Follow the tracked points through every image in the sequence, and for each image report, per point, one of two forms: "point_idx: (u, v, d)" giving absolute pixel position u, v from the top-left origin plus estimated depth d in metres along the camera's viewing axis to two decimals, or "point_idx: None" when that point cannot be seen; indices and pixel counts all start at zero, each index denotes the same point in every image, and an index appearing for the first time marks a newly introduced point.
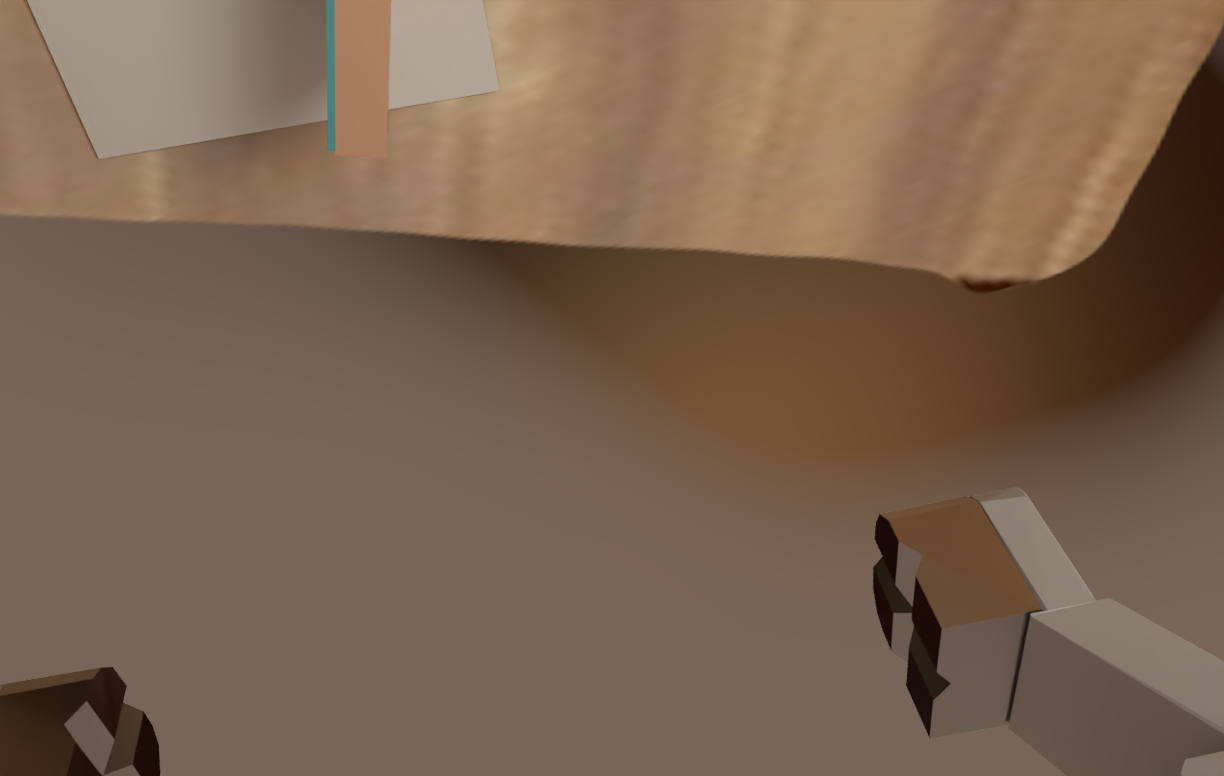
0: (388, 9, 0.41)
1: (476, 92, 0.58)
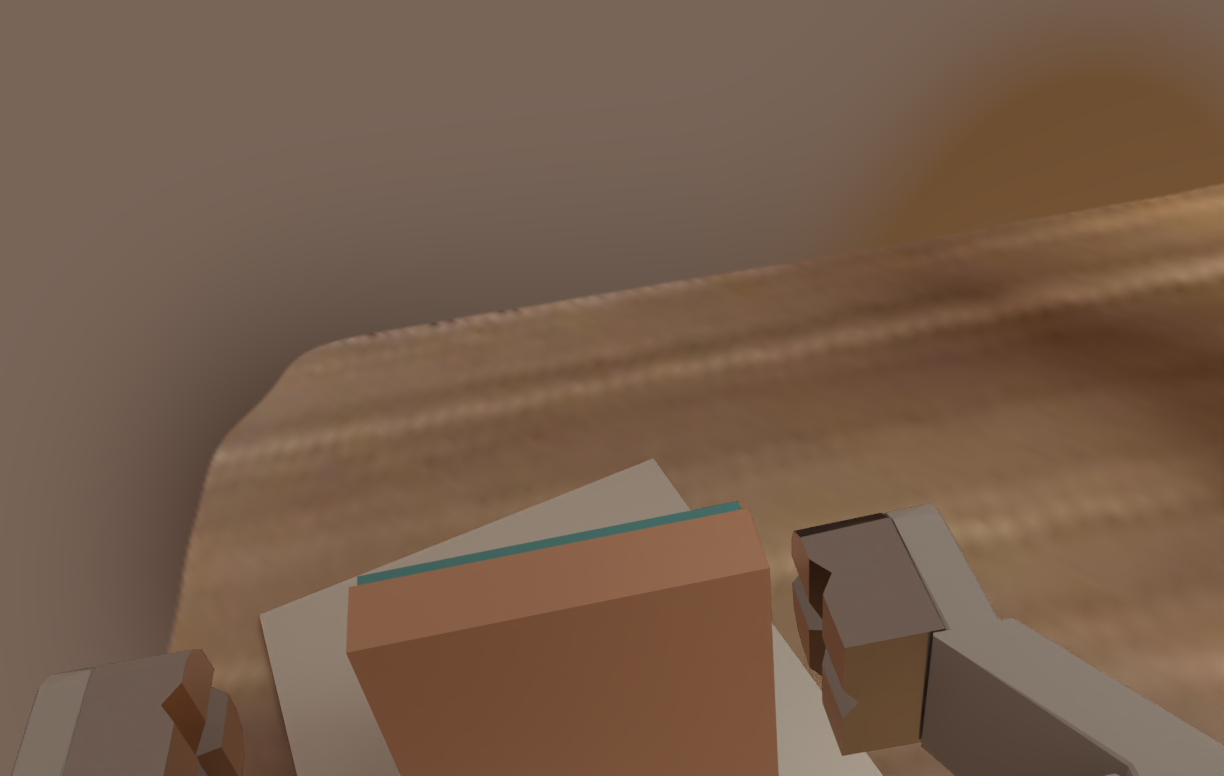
0: (602, 599, 0.26)
1: None
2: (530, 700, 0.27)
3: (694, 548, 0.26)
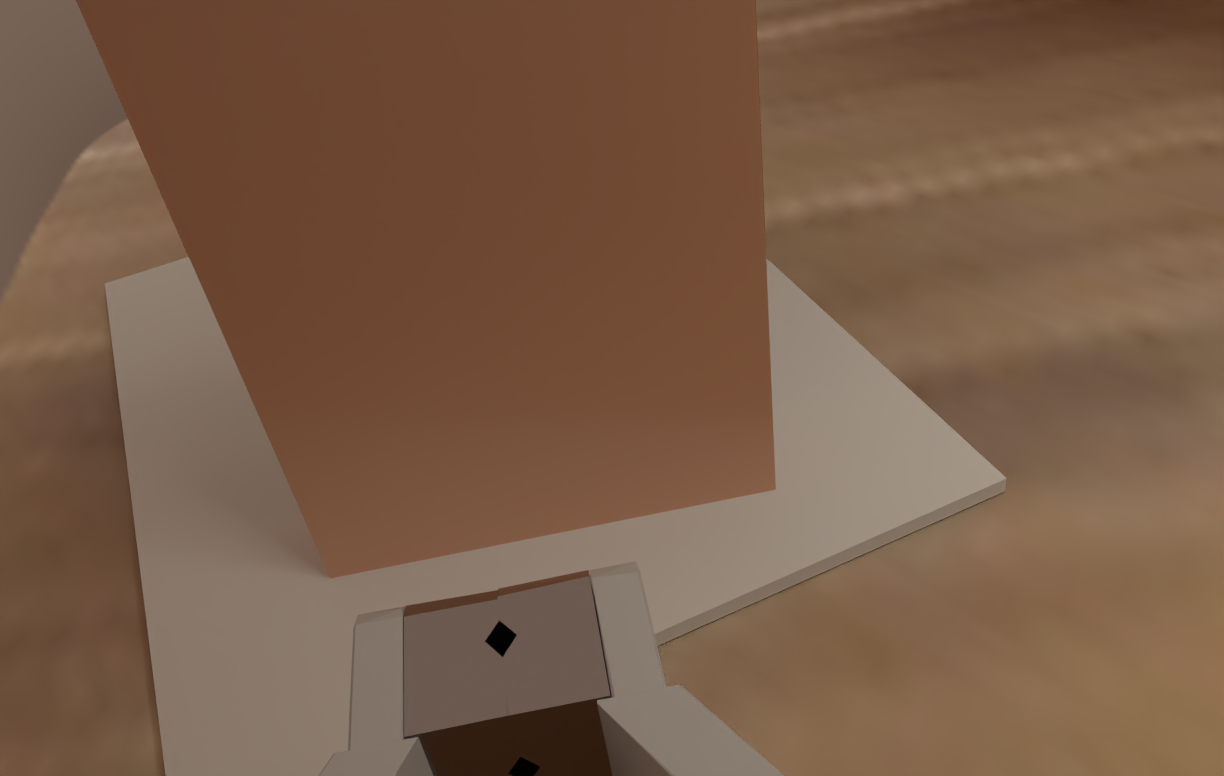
0: None
1: None
2: (371, 81, 0.17)
3: None
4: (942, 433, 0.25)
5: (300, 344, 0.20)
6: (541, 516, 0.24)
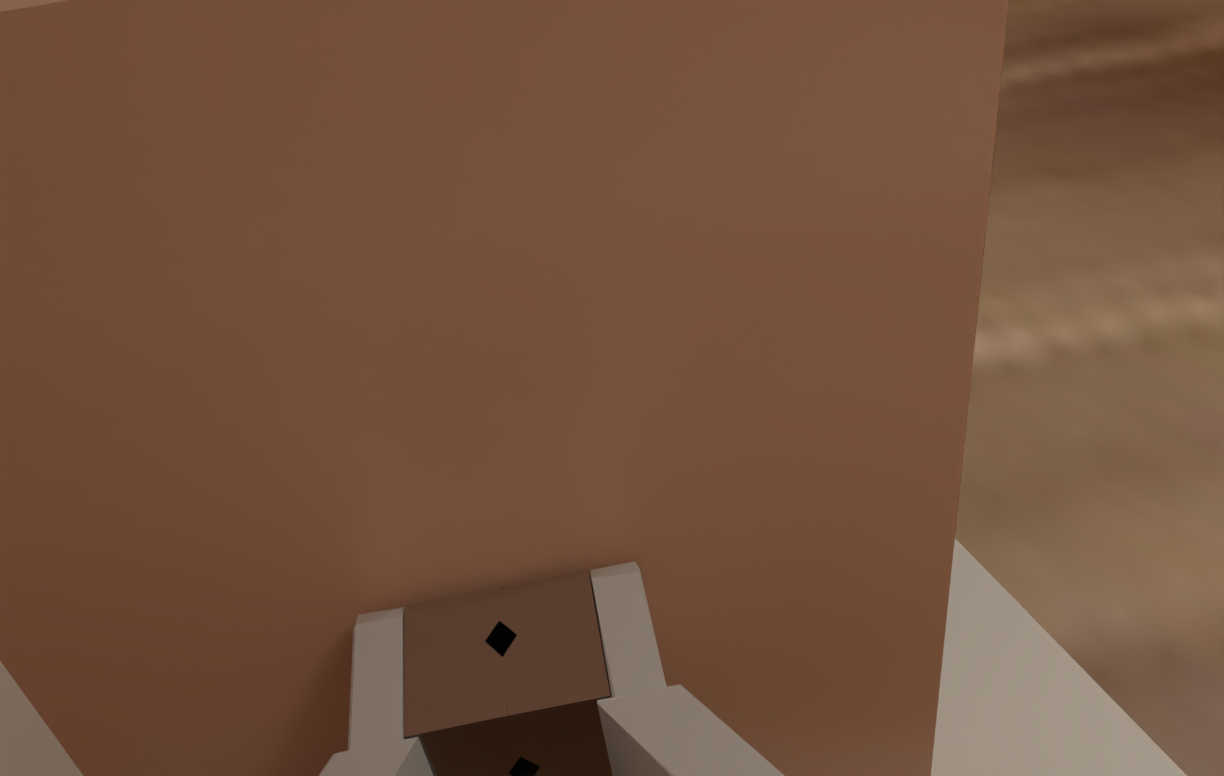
0: None
1: None
2: (287, 356, 0.09)
3: None
4: (1160, 769, 0.17)
5: (182, 735, 0.12)
6: None
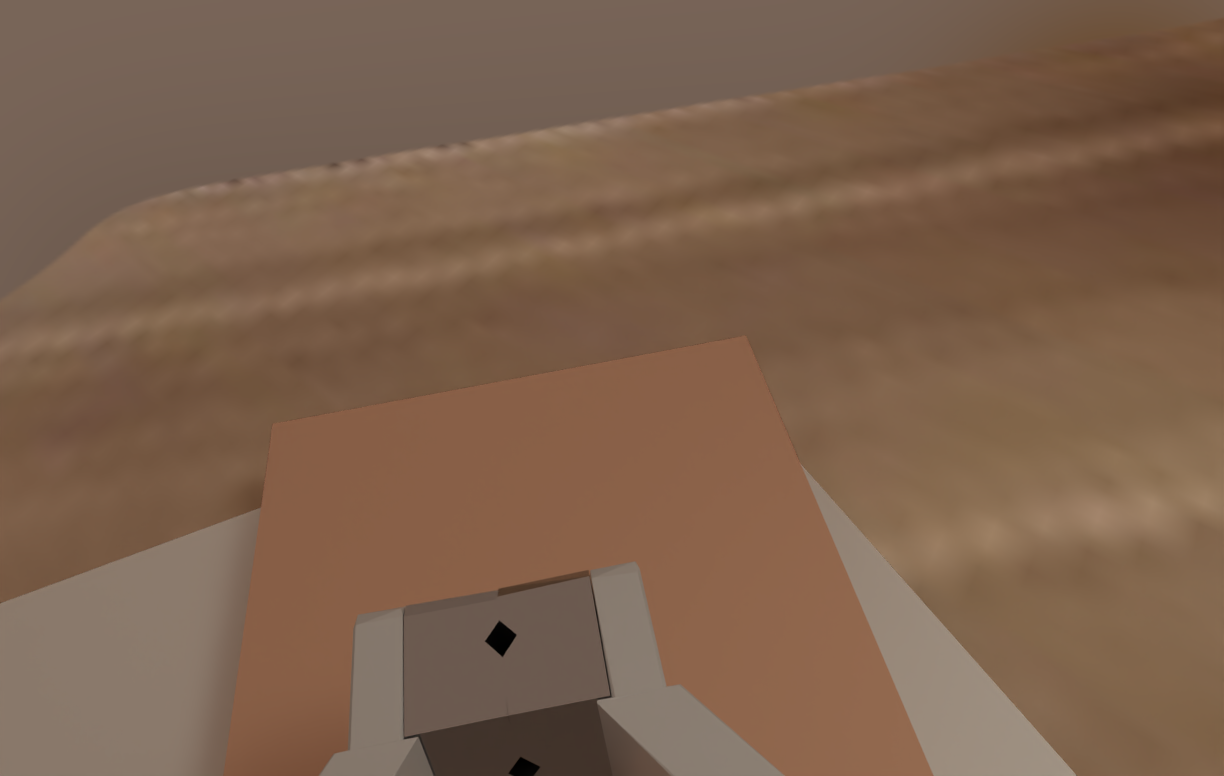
0: (560, 372, 0.23)
1: None
2: (461, 493, 0.20)
3: None
4: None
5: (308, 736, 0.17)
6: None
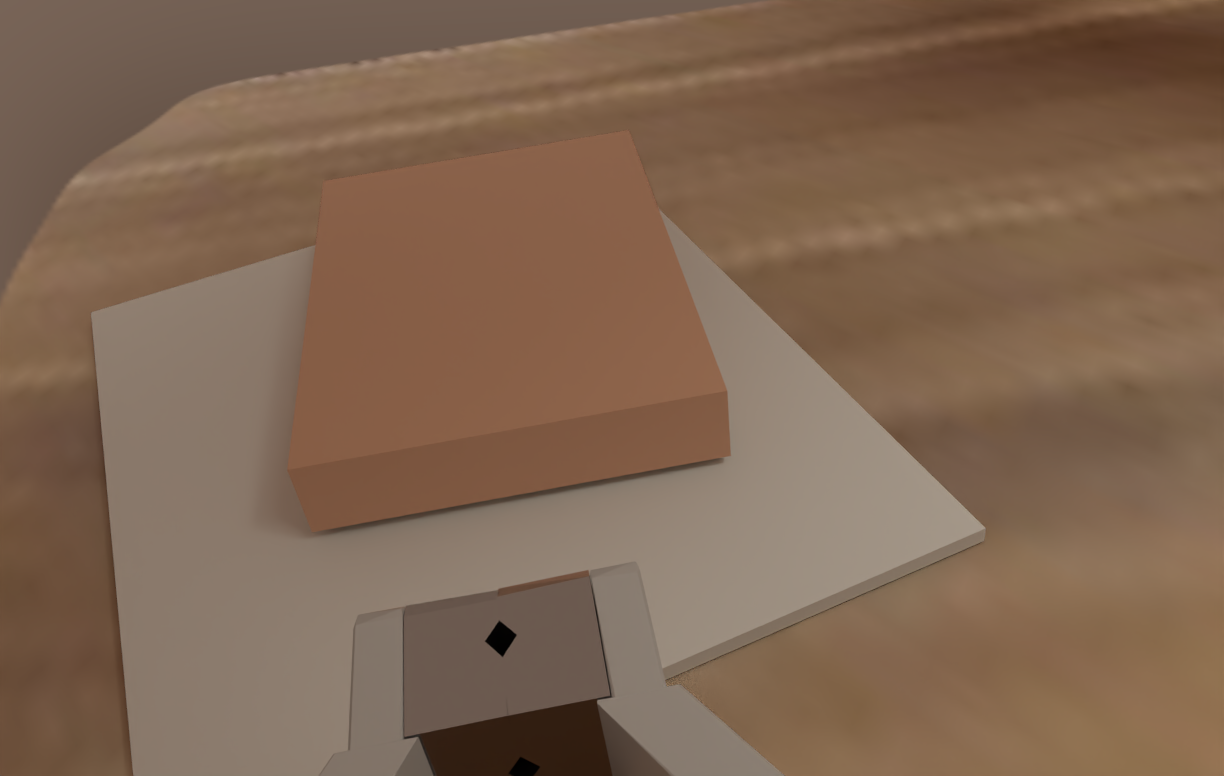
0: None
1: None
2: (443, 207, 0.33)
3: None
4: (923, 480, 0.25)
5: (353, 307, 0.29)
6: (499, 414, 0.25)
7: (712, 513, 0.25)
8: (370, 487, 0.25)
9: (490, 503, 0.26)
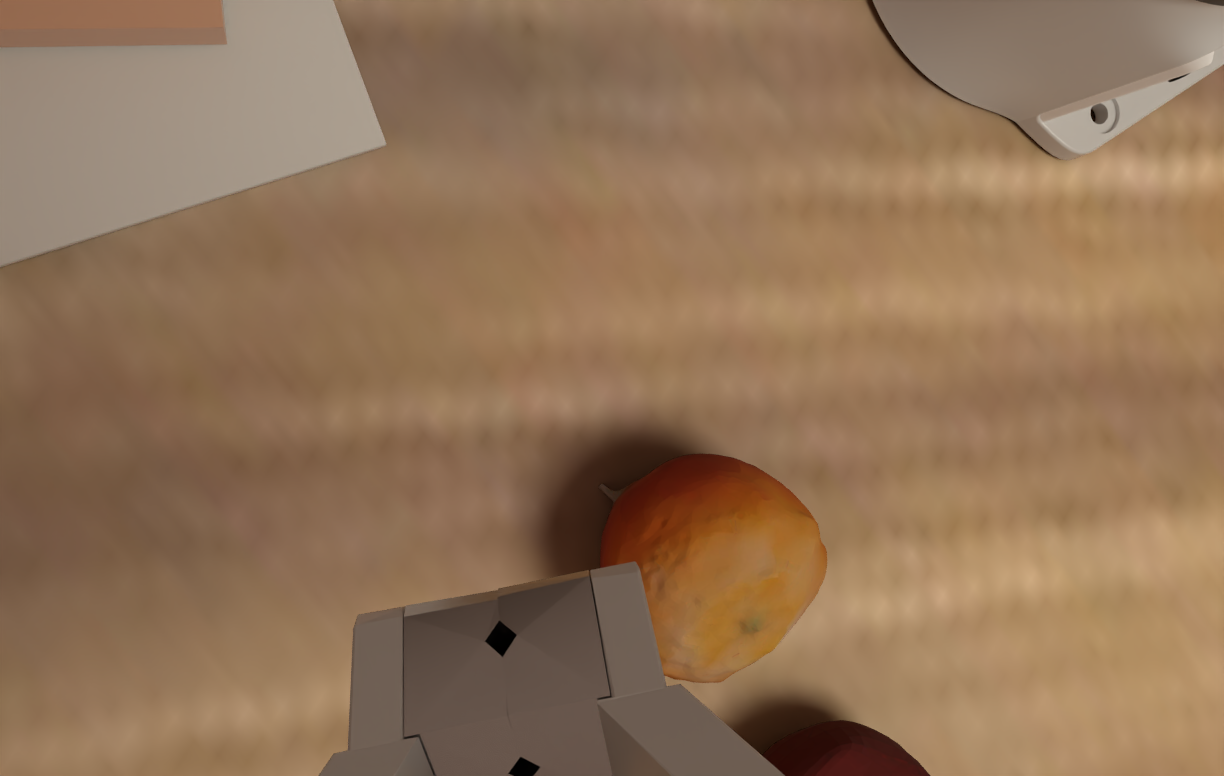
0: None
1: None
2: None
3: None
4: (359, 93, 0.38)
5: None
6: (37, 8, 0.33)
7: (207, 91, 0.36)
8: None
9: None
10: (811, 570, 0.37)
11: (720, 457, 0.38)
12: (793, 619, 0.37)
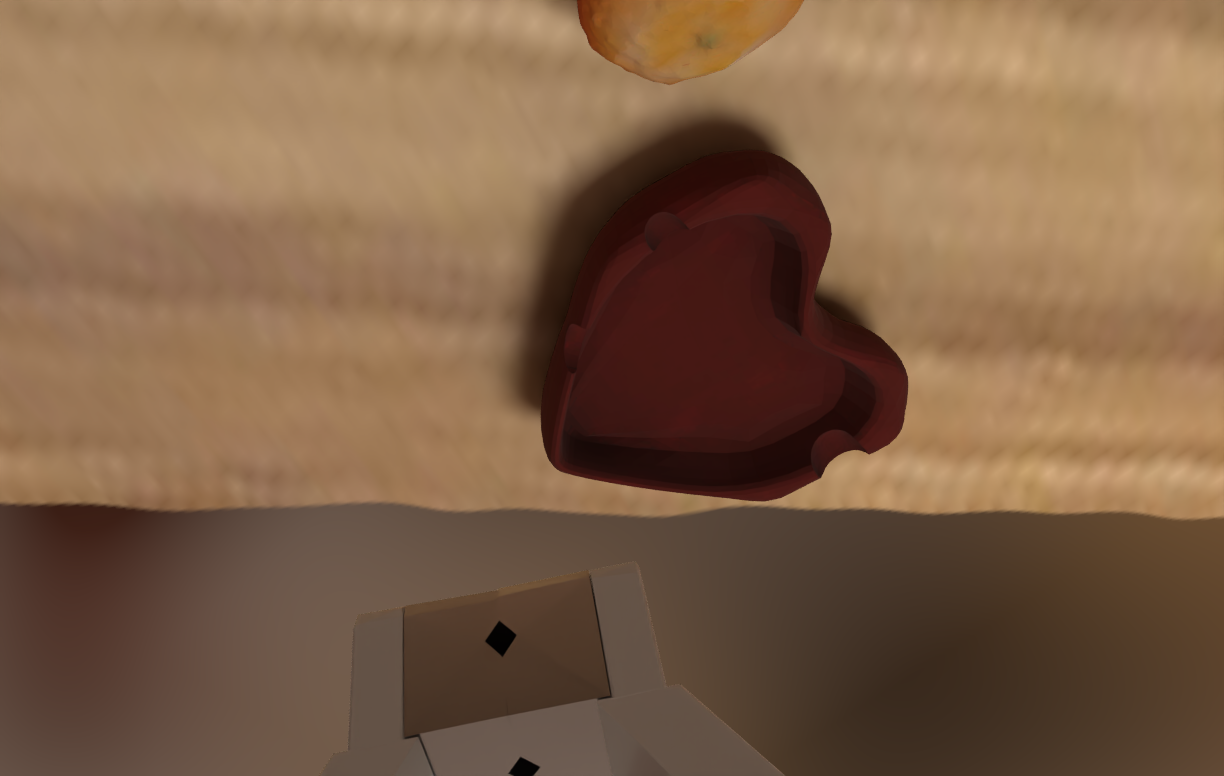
0: None
1: None
2: None
3: None
4: None
5: None
6: None
7: None
8: None
9: None
10: (782, 4, 0.37)
11: None
12: (750, 46, 0.38)
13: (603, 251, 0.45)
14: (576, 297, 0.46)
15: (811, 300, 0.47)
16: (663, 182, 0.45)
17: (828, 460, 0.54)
